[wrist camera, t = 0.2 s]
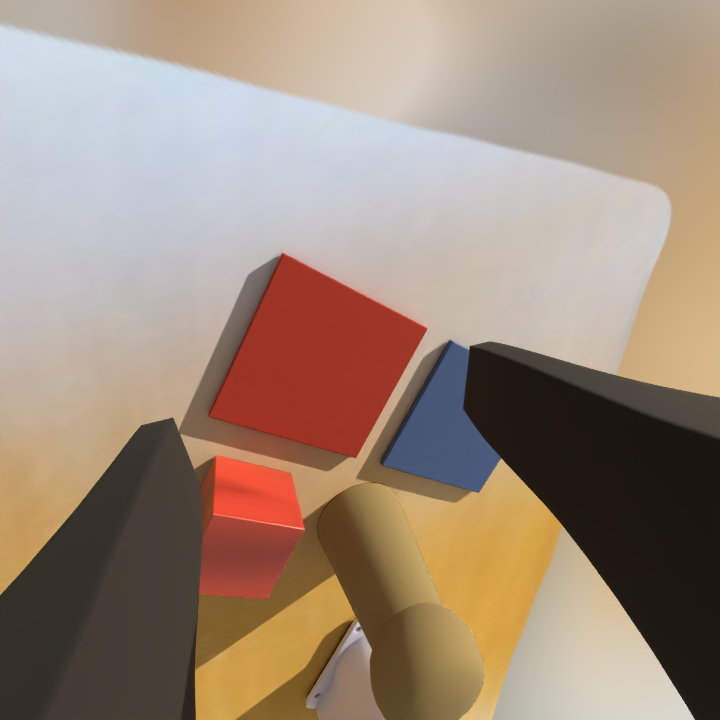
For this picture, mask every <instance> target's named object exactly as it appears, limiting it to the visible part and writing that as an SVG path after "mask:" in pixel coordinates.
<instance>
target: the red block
mask: <svg viewBox="0 0 720 720" xmlns="http://www.w3.org/2000/svg"><path fill="white" fill-rule="evenodd" d="M201 501H202V517H203V542H202V558H201V573H200V588H199V595H213V596H227V597H241V598H255V599H267V598H268V596H269V594H270V593H271V591H272V589H273V587H274V585H275V583H276V582H277V580H278V578H279V576H280V574H281V572H282V571H283V569H284V567H285V565H286V563H287V561H288V560H289V558H290V556H291V554H292V552H293V550H294V549H295V547H296V545H297V543H298V541H299V539H300V538H301V536H302V534H303V532H304V530H305V528H304V524H303V520H302V516H301V512H300V508H299V504H298V500H297V496H296V492H295V488H294V484H293V479H292V475H291V473H287V472H283V471H279V470H275V469H271V468H266V467H262V466H258V465H254V464H250V463H245V462H241V461H237V460H233V459H229V458H224V457H220V456H215V458H214V460H213V463H212V465H211V467H210V469H209V471H208V473H207V475H206V477H205V479H204V482H203V484H202V486H201Z"/></svg>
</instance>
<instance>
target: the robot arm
mask: <svg viewBox="0 0 720 720" xmlns="http://www.w3.org/2000/svg"><path fill="white" fill-rule="evenodd" d="M463 410H464V411H465V413H466V414H467V416H468V417H469V419H470V420H471V422H472V423H473V425H474V426H475V427H476V429H477V430H478V431H479V433H480V434H481V436H482V437H483V438H484V439H485V441H486V442H487V443H488V444H489V445H490V446H491V447H492V448H493V449H494V451H495V452H496V453H497V454H498V455H499V456H500V457H501V458H502V459H503V460H504V461H505V463H506V464H507V465H508V466H509V467H510V468H511V469H512V470H513V471H514V472H515V473H516V474H517V475H518V476H519V478H520V479H521V480H522V481H523V482H524V483H525V484H526V485H527V486H528V487H529V488H530V489H531V490H532V491H533V492H534V494H535V495H536V496H537V497H538V498H539V499H540V500H541V501H542V502H543V503H544V504H545V505H546V506H547V508H548V509H549V510H550V511H551V512H552V513H553V515H554V516H555V517H556V518H557V519H558V520H559V522H560V523H561V524H562V525H563V527H564V528H565V529H566V531H567V532H568V533H569V534H570V536H571V537H572V538H573V540H574V541H575V542H576V543H577V545H578V546H579V547H580V549H581V550H582V551H583V553H584V554H585V555H586V556H587V558H588V559H589V561H590V562H591V563H592V565H593V566H594V567H595V569H596V570H597V572H598V573H599V574H600V576H601V577H602V578H603V580H604V581H605V583H606V584H607V585H608V586H609V588H610V589H611V591H612V592H613V594H614V595H615V596H616V598H617V599H618V600H619V602H620V604H621V605H622V607H623V608H624V610H625V611H626V612H627V614H628V615H629V617H630V618H631V620H632V621H633V623H634V624H635V626H636V627H637V629H638V630H639V632H640V633H641V635H642V636H643V638H644V639H645V641H646V642H647V643H648V645H649V646H650V648H651V649H652V651H653V653H654V654H655V656H656V657H657V659H658V660H659V662H660V664H661V665H662V667H663V669H664V670H665V672H666V673H667V675H668V677H669V678H670V680H671V681H672V683H673V685H674V686H675V688H676V689H677V691H678V693H679V694H680V696H681V697H682V699H683V700H684V702H685V704H686V705H687V707H688V709H689V710H690V712H691V714H692V715H693V717H694V719H695V720H720V398H719V397H714V396H707V395H702V394H697V393H692V392H687V391H682V390H677V389H672V388H666V387H662V386H658V385H653V384H649V383H644V382H640V381H636V380H632V379H628V378H624V377H620V376H616V375H612V374H608V373H605V372H601V371H597V370H594V369H590V368H586V367H583V366H579V365H576V364H572V363H569V362H566V361H562V360H559V359H555V358H552V357H549V356H545V355H542V354H538V353H535V352H531V351H528V350H524V349H521V348H517V347H513V346H509V345H505V344H501V343H496V342H485V343H481V344H477V345H473V346H470V351H469V360H468V368H467V377H466V386H465V394H464V403H463ZM202 542H203V517H202V501H201V486H200V483H199V481H198V478H197V476H196V473H195V471H194V468H193V466H192V463H191V461H190V458H189V456H188V453H187V451H186V448H185V446H184V443H183V441H182V438H181V436H180V433H179V431H178V428H177V426H176V424H175V421H174V419H173V418H170V419H166V420H162V421H157V422H153V423H149V424H145V425H141V426H140V427H139V429H138V430H137V431H136V432H135V434H134V435H133V436H132V437H131V439H130V440H129V441H128V443H127V444H126V445H125V447H124V448H123V449H122V451H121V452H120V453H119V454H118V456H117V457H116V458H115V460H114V461H113V462H112V464H111V465H110V466H109V468H108V469H107V470H106V471H105V473H104V474H103V475H102V477H101V478H100V479H99V480H98V482H97V483H96V484H95V485H94V487H93V488H92V489H91V490H90V492H89V493H88V494H87V496H86V497H85V498H84V499H83V501H82V502H81V503H80V504H79V506H78V507H77V508H76V509H75V511H74V512H73V513H72V514H71V515H70V517H69V518H68V519H67V520H66V521H65V522H64V523H63V525H62V526H61V527H60V528H59V529H58V530H57V532H56V533H55V534H54V535H53V536H52V537H51V539H50V540H49V541H48V542H47V543H46V544H45V546H44V547H43V548H42V549H41V550H40V551H39V553H38V554H37V555H36V556H35V557H34V558H33V560H32V561H31V562H30V563H29V564H28V565H27V567H26V568H25V569H24V570H23V571H22V572H21V573H20V574H19V576H18V577H17V578H16V579H15V580H14V581H13V582H12V583H11V584H10V585H9V586H8V588H7V589H6V590H5V591H4V592H3V593H2V594H1V595H0V720H196V710H195V648H196V632H197V617H198V603H199V588H200V573H201V558H202ZM371 652H372V649H371V647H370V645H369V643H368V641H367V639H366V637H365V634H364V632H363V630H362V628H361V626H360V624H359V622H358V620H357V618H355V619H354V621H353V623H352V624H351V626H350V628H349V629H348V631H347V633H346V634H345V636H344V638H343V639H342V641H341V642H340V644H339V646H338V647H337V649H336V651H335V652H334V654H333V656H332V657H331V659H330V661H329V662H328V664H327V666H326V667H325V669H324V670H323V672H322V674H321V675H320V677H319V679H318V680H317V682H316V684H315V685H314V687H313V689H312V690H311V692H310V694H309V695H308V697H307V699H306V700H305V704H306V708H308V709H313V708H316V711H317V716H318V720H385V718H384V717H383V715H382V713H381V711H380V710H379V708H378V706H377V704H376V702H375V698H374V695H373V691H372V688H371V678H370V662H369V661H370V656H371Z"/></svg>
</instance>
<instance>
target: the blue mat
mask: <svg viewBox="0 0 720 720" xmlns="http://www.w3.org/2000/svg"><path fill="white" fill-rule="evenodd" d="M469 351H470V350H468V349H466V348H464V347H462V346H460V345H458V344H456V343H455V342H453V341H451V340H449V342H448V344H447V346H446V347H445V349H444V351H443V353H442V354H441V356H440V358H439V360H438V361H437V363H436V365H435V367H434V368H433V370H432V372H431V374H430V375H429V377H428V379H427V381H426V383H425V384H424V386H423V388H422V390H421V391H420V393H419V395H418V397H417V398H416V400H415V402H414V404H413V405H412V407H411V409H410V411H409V412H408V414H407V416H406V418H405V420H404V421H403V423H402V425H401V427H400V428H399V430H398V432H397V434H396V435H395V437H394V439H393V441H392V442H391V444H390V446H389V448H388V449H387V451H386V453H385V455H384V457H383V458H382V460H381V464H382V465H383V466H386V467H389V468H393V469H396V470H400V471H404V472H407V473H411V474H414V475H418V476H421V477H425V478H428V479H432V480H435V481H439V482H442V483H446V484H450V485H453V486H457V487H460V488H464V489H467V490H471V491H474V492H478V493H479V492H480V490H481V489H482V487H483V485H484V484H485V482H486V481H487V479H488V478H489V476H490V474H491V473H492V471H493V470H494V468H495V467H496V465H497V463H498V462H499V460H500V459H501V457H500V456H499V455H498V454H497V453H496V452H495V451H494V449H493V448H492V447H491V446H490V445H489V444H488V443H487V442H486V441H485V439H484V438H483V437H482V436H481V434H480V433H479V431H478V430H477V429H476V427H475V426H474V425H473V423H472V422H471V420H470V419H469V417H468V416H467V414H466V413H465V411H464V410H463V403H464V394H465V386H466V377H467V368H468V360H469Z"/></svg>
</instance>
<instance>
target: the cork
mask: <svg viewBox="0 0 720 720" xmlns="http://www.w3.org/2000/svg"><path fill="white" fill-rule="evenodd" d="M317 528H318V538H319V540H320V542H321V544H322V546H323V549H324V551H325V553H326V555H327V557H328V559H329V561H330V563H331V565H332V567H333V569H334V572H335V574H336V576H337V578H338V580H339V582H340V584H341V586H342V588H343V590H344V593H345V595H346V597H347V599H348V601H349V603H350V605H351V607H352V609H353V611H354V613H355V616H356V618H357V620H358V622H359V624H360V626H361V628H362V630H363V632H364V634H365V637H366V639H367V641H368V643H369V645H370V647H371V649H372V652H371V656H370V661H369V662H370V678H371V688H372V691H373V695H374V698H375V702H376V704H377V706H378V708H379V710H380V711H381V713H382V715H383V717H384V718H385V720H459V719H460V718H461V717H462V716H463V715H464V714H465V713H467V712H468V711H469V709H470V708H471V707H472V706H473V704H474V703H475V702H476V700H477V698H478V696H479V694H480V692H481V689H482V687H483V684H484V677H485V672H484V661H483V658H482V655H481V652H480V649H479V646H478V644H477V641H476V638H475V636H474V635H473V633H472V632H471V630H470V628H469V627H468V625H467V624H466V623H465V622H464V621H463V620H462V619H461V618H460V617H459V616H458V615H457V614H456V613H454V612H453V611H452V610H450V609H448V608H446V607H444V606H443V604H442V601H441V599H440V596H439V594H438V592H437V589H436V587H435V584H434V582H433V579H432V577H431V575H430V572H429V570H428V567H427V565H426V563H425V560H424V558H423V555H422V553H421V550H420V548H419V546H418V543H417V541H416V538H415V536H414V534H413V531H412V529H411V526H410V524H409V521H408V519H407V517H406V514H405V512H404V509H403V507H402V504H401V502H400V500H399V497H398V495H397V493H395V492H394V491H393V490H392V489H391V488H390V487H388V486H385V485H382V484H379V483H365V484H361V485H357V486H353V487H351V488H349V489H347V490H346V491H344V492H342V493H340V494H339V495H337V496H336V497H335V498H334V499H333V500H332V501H331V502H330V503H329V504H328V505H327V507H326V508H325V510H324V511H323V513H322V514H321V516H320V520H319V523H318V527H317Z"/></svg>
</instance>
